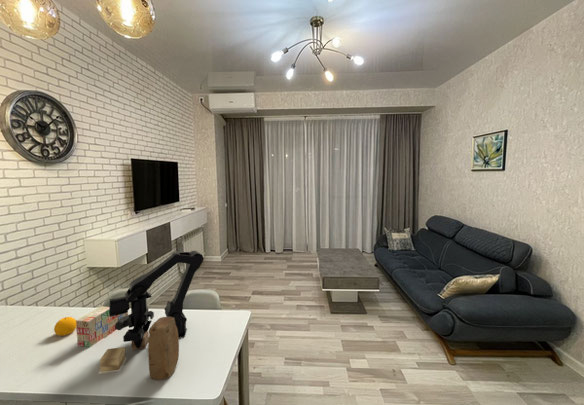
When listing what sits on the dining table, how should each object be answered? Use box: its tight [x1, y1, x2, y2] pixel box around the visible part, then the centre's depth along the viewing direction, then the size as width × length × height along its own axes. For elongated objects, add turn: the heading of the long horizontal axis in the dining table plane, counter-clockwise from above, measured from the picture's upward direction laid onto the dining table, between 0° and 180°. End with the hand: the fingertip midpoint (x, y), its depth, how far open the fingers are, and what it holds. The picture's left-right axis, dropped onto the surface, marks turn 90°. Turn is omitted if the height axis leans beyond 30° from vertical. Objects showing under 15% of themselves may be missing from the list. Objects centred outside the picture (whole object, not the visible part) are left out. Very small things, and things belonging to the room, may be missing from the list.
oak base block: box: [99, 346, 126, 372], centre depth 98 cm, size 6×6×5 cm
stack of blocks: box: [75, 306, 129, 348], centre depth 119 cm, size 21×6×12 cm, turn 172°
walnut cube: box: [131, 330, 149, 351], centre depth 110 cm, size 5×5×5 cm
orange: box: [53, 316, 77, 337], centre depth 119 cm, size 8×8×8 cm
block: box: [147, 316, 180, 381], centre depth 95 cm, size 11×8×20 cm
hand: (140, 344), depth 110 cm, fingers closed on walnut cube, 5 cm apart
